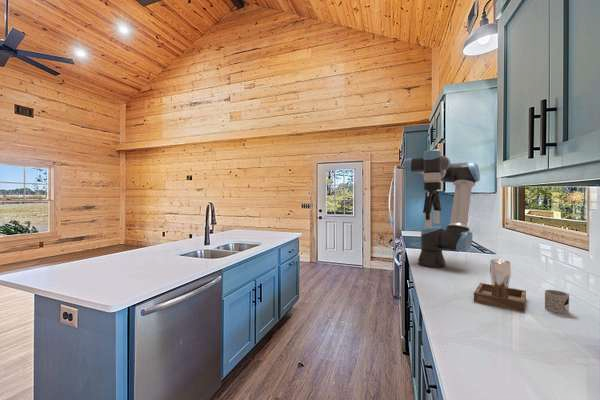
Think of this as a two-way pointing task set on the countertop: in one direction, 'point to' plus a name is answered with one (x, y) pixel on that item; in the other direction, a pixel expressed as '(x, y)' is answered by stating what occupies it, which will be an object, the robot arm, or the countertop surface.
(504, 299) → the tray
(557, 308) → the mug
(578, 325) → the countertop surface
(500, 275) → the beer glass
